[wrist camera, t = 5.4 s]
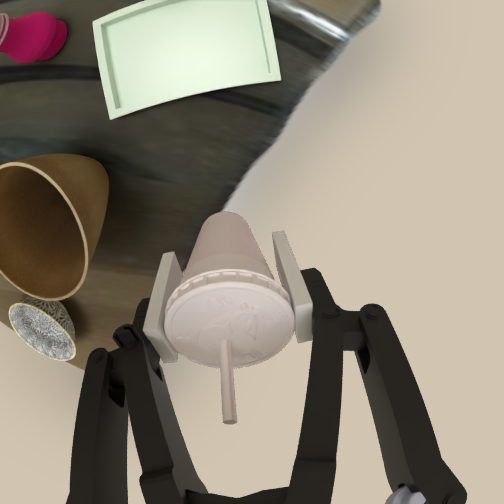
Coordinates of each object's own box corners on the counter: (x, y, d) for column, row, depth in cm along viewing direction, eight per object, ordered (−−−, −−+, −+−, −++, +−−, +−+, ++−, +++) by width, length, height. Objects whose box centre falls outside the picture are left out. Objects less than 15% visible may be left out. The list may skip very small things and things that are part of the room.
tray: (117, 117, 28) (110, 119, 26) (100, 25, 20) (92, 21, 18) (277, 81, 28) (281, 80, 26) (258, -15, 20) (261, -22, 18)
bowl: (95, 339, 49) (86, 367, 43) (40, 329, 47) (28, 353, 40) (74, 281, 40) (57, 310, 34) (15, 273, 38) (-3, 297, 32)
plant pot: (99, 247, 37) (56, 321, 24) (34, 186, 31) (-31, 240, 17) (158, 178, 33) (116, 241, 20) (83, 107, 26) (2, 129, 13)
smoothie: (170, 250, 21) (137, 425, 9) (205, 179, 18) (181, 354, 6) (242, 278, 23) (264, 444, 11) (283, 217, 20) (354, 387, 9)
